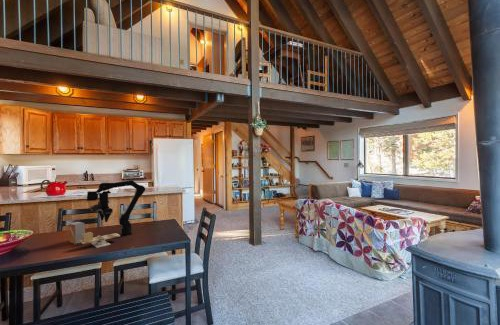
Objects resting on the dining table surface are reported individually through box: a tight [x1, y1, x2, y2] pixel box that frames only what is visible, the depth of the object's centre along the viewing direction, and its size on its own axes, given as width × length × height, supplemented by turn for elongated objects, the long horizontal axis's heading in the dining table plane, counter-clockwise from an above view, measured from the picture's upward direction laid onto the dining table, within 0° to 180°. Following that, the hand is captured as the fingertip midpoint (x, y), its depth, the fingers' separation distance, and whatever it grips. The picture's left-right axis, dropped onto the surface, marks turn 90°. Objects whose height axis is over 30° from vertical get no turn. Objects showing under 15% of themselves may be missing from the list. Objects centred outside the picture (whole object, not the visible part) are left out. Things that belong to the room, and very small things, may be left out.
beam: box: [80, 232, 121, 245], centre depth 168 cm, size 22×7×1 cm, turn 136°
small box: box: [68, 221, 86, 245], centre depth 173 cm, size 8×6×13 cm
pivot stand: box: [90, 234, 111, 249], centre depth 168 cm, size 8×12×5 cm, turn 46°
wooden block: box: [82, 231, 94, 242], centre depth 162 cm, size 5×5×4 cm
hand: (104, 221), depth 183 cm, fingers open, 9 cm apart
